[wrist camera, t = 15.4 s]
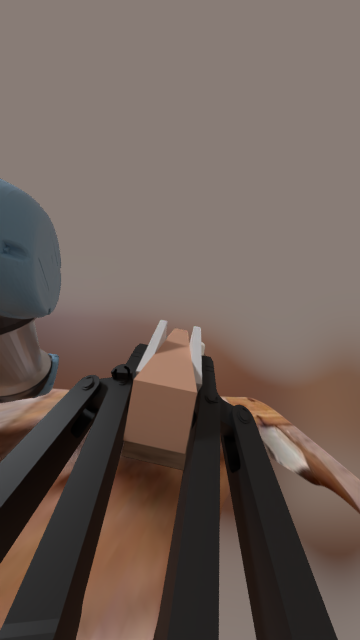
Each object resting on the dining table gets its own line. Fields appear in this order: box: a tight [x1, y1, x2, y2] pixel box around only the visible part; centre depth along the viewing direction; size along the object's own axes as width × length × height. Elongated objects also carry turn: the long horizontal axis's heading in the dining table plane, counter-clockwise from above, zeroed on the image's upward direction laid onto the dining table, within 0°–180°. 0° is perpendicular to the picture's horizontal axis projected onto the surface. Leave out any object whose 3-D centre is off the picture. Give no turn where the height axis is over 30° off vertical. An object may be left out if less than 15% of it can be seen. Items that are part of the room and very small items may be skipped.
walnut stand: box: [122, 354, 205, 470], centre depth 40 cm, size 10×19×30 cm, turn 88°
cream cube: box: [201, 343, 205, 355], centre depth 40 cm, size 4×4×4 cm
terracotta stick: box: [123, 328, 197, 454], centre depth 18 cm, size 24×3×3 cm, turn 178°
